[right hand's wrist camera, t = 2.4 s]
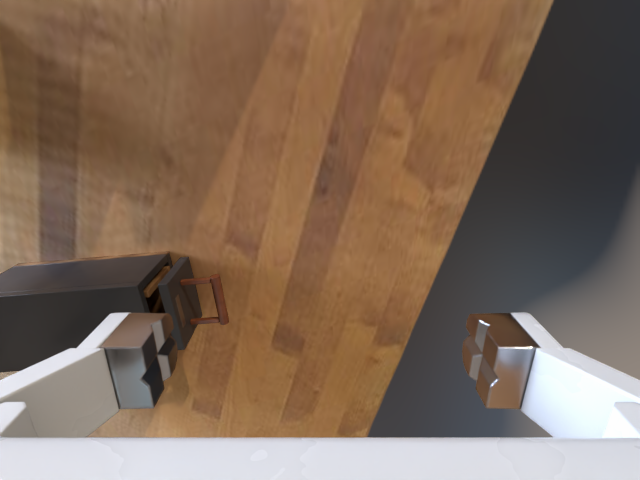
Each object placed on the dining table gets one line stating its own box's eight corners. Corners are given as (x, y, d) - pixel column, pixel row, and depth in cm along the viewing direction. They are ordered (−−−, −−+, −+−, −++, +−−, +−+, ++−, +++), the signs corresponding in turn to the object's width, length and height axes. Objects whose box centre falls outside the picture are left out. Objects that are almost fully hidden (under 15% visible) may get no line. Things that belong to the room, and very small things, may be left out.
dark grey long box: (169, 251, 52) (136, 285, 43) (185, 316, 56) (159, 360, 47) (18, 263, 53) (-46, 300, 44) (45, 327, 57) (-9, 373, 47)
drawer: (225, 253, 51) (209, 280, 44) (236, 312, 55) (224, 346, 47) (44, 268, 52) (-1, 297, 45) (67, 325, 55) (29, 361, 48)
